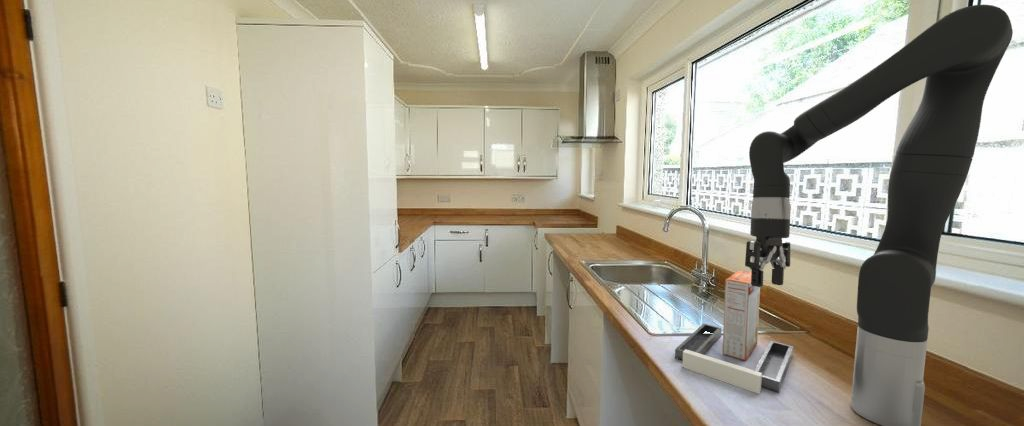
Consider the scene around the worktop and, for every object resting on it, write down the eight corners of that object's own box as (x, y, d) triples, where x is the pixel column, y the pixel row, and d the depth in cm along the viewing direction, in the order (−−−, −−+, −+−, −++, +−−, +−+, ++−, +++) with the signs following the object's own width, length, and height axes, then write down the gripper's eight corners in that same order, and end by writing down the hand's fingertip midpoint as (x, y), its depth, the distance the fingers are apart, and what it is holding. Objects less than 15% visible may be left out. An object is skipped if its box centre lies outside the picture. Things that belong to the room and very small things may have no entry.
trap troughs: (792, 355, 95) (793, 346, 94) (778, 393, 77) (779, 382, 77) (703, 331, 110) (703, 323, 110) (674, 358, 93) (675, 349, 92)
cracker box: (733, 338, 105) (737, 269, 103) (758, 344, 101) (762, 273, 99) (720, 354, 95) (724, 278, 93) (746, 362, 91) (751, 282, 89)
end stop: (760, 390, 78) (762, 373, 78) (759, 394, 77) (760, 376, 77) (685, 364, 90) (685, 349, 89) (682, 367, 88) (682, 351, 88)
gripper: (770, 216, 77) (767, 290, 77) (804, 218, 83) (801, 287, 83) (735, 215, 84) (732, 283, 84) (769, 217, 90) (767, 281, 90)
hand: (767, 285), depth 83 cm, fingers open, 8 cm apart
